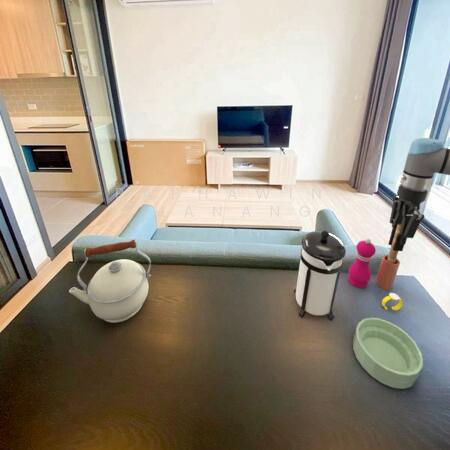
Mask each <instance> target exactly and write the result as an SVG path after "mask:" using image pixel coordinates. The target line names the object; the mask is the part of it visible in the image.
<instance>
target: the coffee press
mask: <svg viewBox="0 0 450 450" xmlns="http://www.w3.org/2000/svg"><path fill="white" fill-rule="evenodd" d="M300 243H301V249H300V255H299V257H300V260H299V267H298V272H297V273H298V274H297V280H296V281H297V282H296V287H295V289H294V290H293V292H294V294H295V299H296V302H297V304H298V306H299V307H300V309H299V311H298V316H300V317H301V318H304V316H305V314H306V313H308V314H309V315H313V316H324V315H325V316H326V317H327V318H328V320H329V321H333V320H334V319H335V315H334V312H333V307H334V302H335V298H336V294H337V289H338V284H339V280H340V275H341V270H342V268H343V264H344V258H345V257H346V252H347V249H346V247H345V245H344V243H343V241H342V240H341V239H340V238H339V237H337V236H336V235H335V234H332V233H330V232H328V231H327V230H314V231H310V232H308V233H307V234H306V235H305V236H303V237H302V238H301V242H300Z"/></svg>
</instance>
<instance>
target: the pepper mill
mask: <svg viewBox="0 0 450 450" xmlns="http://www.w3.org/2000/svg"><path fill="white" fill-rule="evenodd" d="M375 254H376V246H375V245H374V244H373V243H372V240H371V239H370V238H365V240H360V241H359V242H357V244H356V253H355V256H356V260H355V261H354V262H353V263H352V264H351V265H350V267H349V269H348V274H349V275H348V278H347V279H348V282H349V283H350V285H352V286H353V287H355V288H357V289H365V288H366V287H367V286H368V282H369V281H370V280H371V274H372V273H371V269H370V262H372V260H373V257H374V255H375Z"/></svg>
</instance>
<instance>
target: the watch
mask: <svg viewBox="0 0 450 450" xmlns="http://www.w3.org/2000/svg"><path fill="white" fill-rule="evenodd" d="M391 300H392V301H394V302H398V301H399V302H398V303H397V304H396V305H394V306H391V307H390V308H391V309H392V311H398V310H401V309H402V307H403V306H404V302H403V300H402V299H401V297H400V296H399V295H398V294H397V293H394V292H389V293H388V295H386V296H384V297H383V299H382V300H381V304H382V307H383V309H384V310H387V311H388V307H387V306H386V303H387V302H389V301H391Z"/></svg>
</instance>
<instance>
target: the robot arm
mask: <svg viewBox="0 0 450 450" xmlns="http://www.w3.org/2000/svg"><path fill="white" fill-rule="evenodd" d="M444 144H445V143H444V141H442V140H440V139H436V138H435V139H434V138H430V137H418V138H415V139H413V140H412V141H411V144H410V147H409V150H408V152H407V156H406V159H405V164H404V167H403V171H402V174H401V177H400V181H399V183H400V184H399V185H398V188H397V191H396V195H397V196H393V197H392V207H391V212H390V217H389V224H391V232H390V235H389V236H390V237H389V241H388V243H387V244H388V246H391V245H392V242H393V238H394V235H395V232H396V228H397V225H398V224H402V225H401V230H400V233H397V237H396V241H395V244H394V247H393V250H394V251H398V252H403V251H404V248H405V245H406V243H407V240H408V239H414V237H415V235H416V233H417V230H418V229H419V227H420V224H421V222H422V221H423V220H424V219H425V214H423V213H421V212H420V209H421V204H422V203H424V202H425V201H426V199H427V196H428V193H429V190H430V188H431V185H432V182H433V179H434V178H433V177H434V174H440V175H441V174H442V175H447V176H450V146H449V147H448V148H447V147H444Z"/></svg>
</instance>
